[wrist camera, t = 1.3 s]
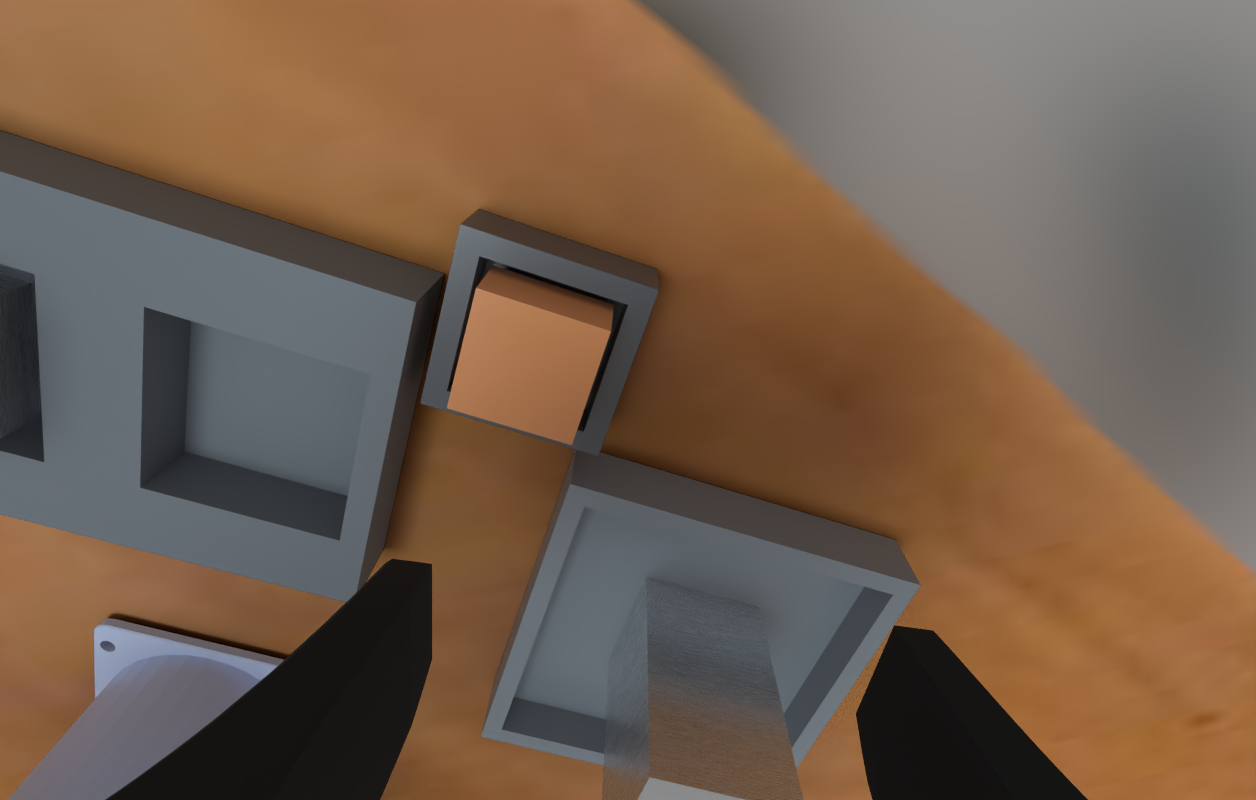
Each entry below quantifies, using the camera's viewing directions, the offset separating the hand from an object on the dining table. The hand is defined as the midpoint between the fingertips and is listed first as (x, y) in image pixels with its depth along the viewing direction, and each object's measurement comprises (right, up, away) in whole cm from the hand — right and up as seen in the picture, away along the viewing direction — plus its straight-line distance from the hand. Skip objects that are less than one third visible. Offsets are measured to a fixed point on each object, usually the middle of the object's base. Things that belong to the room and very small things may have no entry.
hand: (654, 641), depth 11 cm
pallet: (-14, +5, +9) cm, 18 cm away
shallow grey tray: (+1, -4, +13) cm, 14 cm away
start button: (-3, +5, +7) cm, 9 cm away
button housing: (-3, +6, +9) cm, 11 cm away
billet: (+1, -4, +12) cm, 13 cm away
